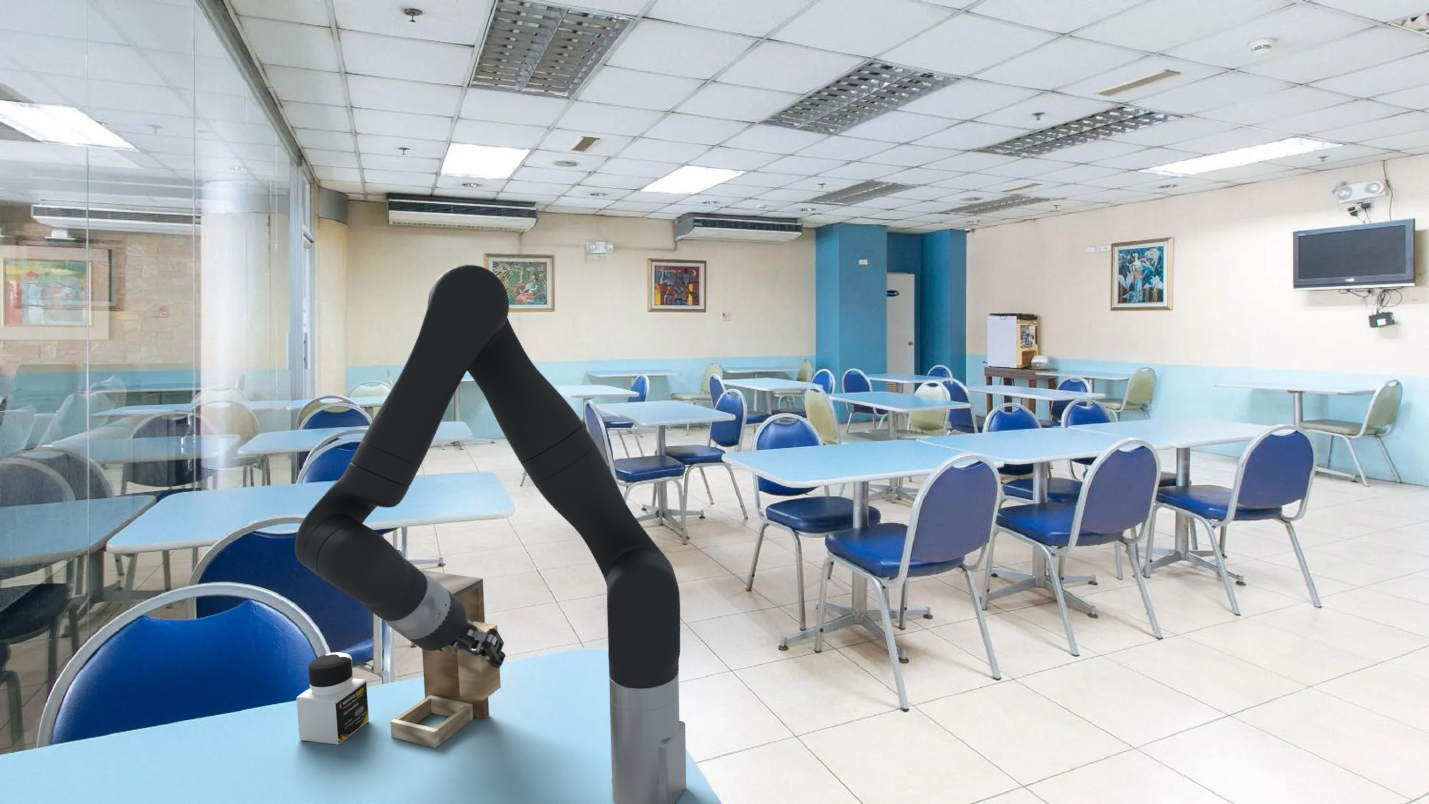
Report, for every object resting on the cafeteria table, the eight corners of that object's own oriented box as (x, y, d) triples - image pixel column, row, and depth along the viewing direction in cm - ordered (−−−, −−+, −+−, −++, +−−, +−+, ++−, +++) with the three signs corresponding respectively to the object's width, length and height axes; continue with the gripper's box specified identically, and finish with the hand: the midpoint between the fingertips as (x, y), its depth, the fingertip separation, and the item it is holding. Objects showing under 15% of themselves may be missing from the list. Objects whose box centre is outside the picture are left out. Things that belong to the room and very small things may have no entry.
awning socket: (489, 715, 120) (482, 578, 118) (443, 750, 111) (435, 602, 108) (430, 702, 125) (423, 570, 122) (381, 735, 115) (372, 592, 112)
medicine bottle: (339, 745, 112) (334, 670, 111) (298, 740, 114) (292, 666, 112) (370, 720, 119) (365, 649, 118) (331, 716, 121) (326, 646, 119)
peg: (500, 687, 108) (497, 624, 107) (482, 700, 104) (479, 636, 103) (478, 683, 110) (474, 621, 109) (460, 696, 106) (455, 632, 105)
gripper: (479, 589, 96) (538, 640, 108) (393, 577, 101) (459, 628, 113) (453, 645, 91) (518, 692, 104) (365, 630, 96) (437, 677, 109)
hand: (487, 658), depth 108 cm, fingers closed on peg, 4 cm apart
